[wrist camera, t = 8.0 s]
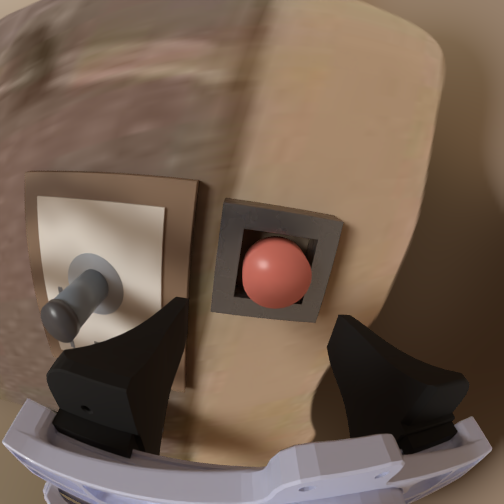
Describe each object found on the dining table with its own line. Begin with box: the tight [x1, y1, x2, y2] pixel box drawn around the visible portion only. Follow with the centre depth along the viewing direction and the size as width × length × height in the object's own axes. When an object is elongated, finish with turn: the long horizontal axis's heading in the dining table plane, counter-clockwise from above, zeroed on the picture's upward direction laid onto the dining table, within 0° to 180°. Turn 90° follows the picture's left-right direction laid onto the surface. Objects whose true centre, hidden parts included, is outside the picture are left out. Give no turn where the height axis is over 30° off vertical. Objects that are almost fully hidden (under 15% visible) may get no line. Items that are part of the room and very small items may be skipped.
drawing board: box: [25, 171, 199, 392], centre depth 20 cm, size 20×16×1 cm
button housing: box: [211, 198, 343, 323], centre depth 19 cm, size 8×8×2 cm
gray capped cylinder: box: [41, 269, 109, 343], centre depth 16 cm, size 3×3×6 cm
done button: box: [242, 236, 312, 309], centre depth 18 cm, size 4×4×2 cm
